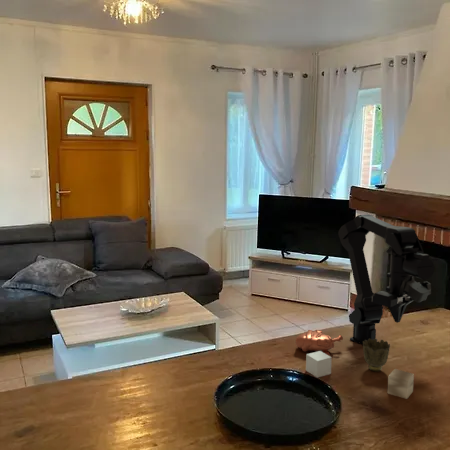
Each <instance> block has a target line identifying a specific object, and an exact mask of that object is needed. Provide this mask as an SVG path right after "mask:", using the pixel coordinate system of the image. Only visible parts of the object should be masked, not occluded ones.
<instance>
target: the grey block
mask: <svg viewBox="0 0 450 450" xmlns="http://www.w3.org/2000/svg"><path fill="white" fill-rule="evenodd" d="M305 357H306V358H305V371H306V372H307V373H309V374H311V375H312V376H314V377H315V378H321V377H325V376H329V375H331V374H332V360H333V359H332V358H333V357H332V356H331V355H330V356H328V355H327V354H325V353H323V352H322V351H314V352H310V353H306V356H305Z"/></svg>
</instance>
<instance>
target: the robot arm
mask: <svg viewBox="0 0 450 450" xmlns="http://www.w3.org/2000/svg"><path fill="white" fill-rule="evenodd" d="M337 233H338V235H337V236H338V237H339V240H340V244H341V245H342V247H343V249H344V250H346V252H347V254H348V259H349V263H350V267H351V273H352V277H353V281H354V282H353V283H354V286H355V291H356V297H355V300H354V302H353V307H354V310H352V311H351V312H350V313H349V315H348V319H349V323H350V324H352V325H353V327H352V328H353V329H352V337H350V338H349V340H350V341H352V342H355V343H358V344H360V345H363V341H364V342H365V340H367V341H368V339H369V338H370V339H372V340H374V339H376V341H377V342H378V339H377V337H376V336H377V329H376V324H380V323H381V319H382V317H383V315H384V313H383V312H384V311H383V309H384V307H387V308H388V309H389V311H390V314H391V316H392V318H393V322H394V323H397V324H398V323H400V322H401V320H402V318H403V315H404V313H405V310H406V308H407V306H408V305H409V304H410V303H412V302H415V303H421V302H423V301H426V300H427V298H428V296H430V295H431V294H432V283H430V282H429V281H427V280H428V279H430V278H431V277H432V276H433V274H434V272H435V265H434V262H433V261H432V260H431V259H430V255H429V254H427V253H425V252H424V249H423V246H422V244H421V242H420V239H419V236H418V235H417V233H416V230H415V229H414V228H413V227H408V226H400V225H399V226H397V225H393V224H391V223H389V222H386V221H384V220H383V219H380V218H378V217H375V216H374V215H372V214H367V213H366V214H358V215H356V216H355V217H354V218H353V219H351V220H350V221H347V222H345V223H344V224H343V225H341V226H340V228H339V229H338V232H337ZM369 233H372V234H375V235H377V236H379V237H380V238H382V239H384V242H385V244H386V245H388V246H389V248H388V249H386V250H385V251H386V253H387V254H390V264H389V265H390V269H389V272H387V273H386V277H387V278H389V281H388V282H389V285H388V286H386V287H385V290H381V291H377V292H373V288H372V284H371V279H370V274H369V269H368V264H367V261H366V255H365V250H364V248H365V245H366V242H367V235H368V234H369ZM415 278H418V279H420V280H425V281H423V282H417V281H416V280H415Z"/></svg>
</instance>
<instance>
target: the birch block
mask: <svg viewBox="0 0 450 450" xmlns="http://www.w3.org/2000/svg"><path fill="white" fill-rule="evenodd" d="M414 379H415V373H412V372H409V371H405V370H401V369H398V368H394V369H393V370H392V371H391V372H390V373H389V375H388V377H387V391H386V392H387V394H388V395H391V396H395V397H399V398H402V399H405V400H407V399H409V397H410V396H411V395H412V393H414V381H415V380H414Z"/></svg>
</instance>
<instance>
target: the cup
mask: <svg viewBox="0 0 450 450" xmlns="http://www.w3.org/2000/svg"><path fill="white" fill-rule="evenodd" d="M376 339H377V338H376ZM376 339H374V340H372V339H370V338H369V339H368V341H367V340H365V342H364V341H363V344H362V349H363V358H364V361H365V363H366V364H368V369H369V370H370V371H372V372H381V370H382V369H383V366H384V365H386V364H387V361H388V359H389V353H390V349H391V344H390V343H389V342H388V341H386V340H385V341H384V340H383V339H380V340H379V341H378V340H377V341H376Z"/></svg>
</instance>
